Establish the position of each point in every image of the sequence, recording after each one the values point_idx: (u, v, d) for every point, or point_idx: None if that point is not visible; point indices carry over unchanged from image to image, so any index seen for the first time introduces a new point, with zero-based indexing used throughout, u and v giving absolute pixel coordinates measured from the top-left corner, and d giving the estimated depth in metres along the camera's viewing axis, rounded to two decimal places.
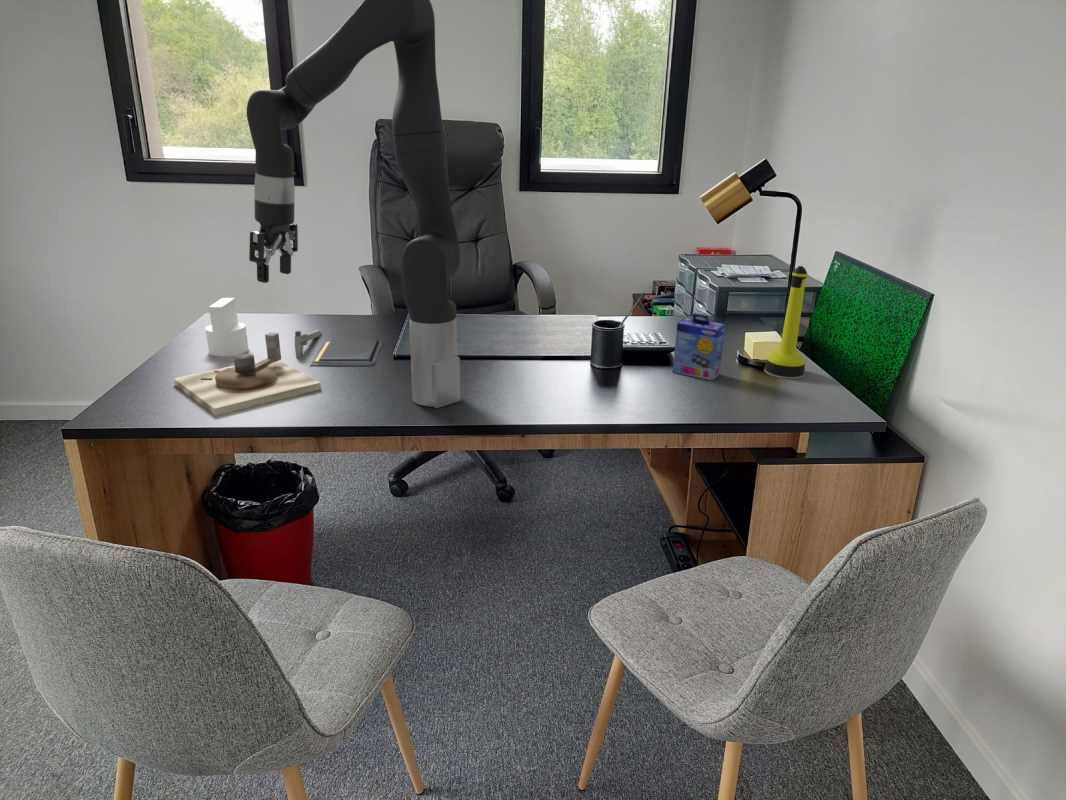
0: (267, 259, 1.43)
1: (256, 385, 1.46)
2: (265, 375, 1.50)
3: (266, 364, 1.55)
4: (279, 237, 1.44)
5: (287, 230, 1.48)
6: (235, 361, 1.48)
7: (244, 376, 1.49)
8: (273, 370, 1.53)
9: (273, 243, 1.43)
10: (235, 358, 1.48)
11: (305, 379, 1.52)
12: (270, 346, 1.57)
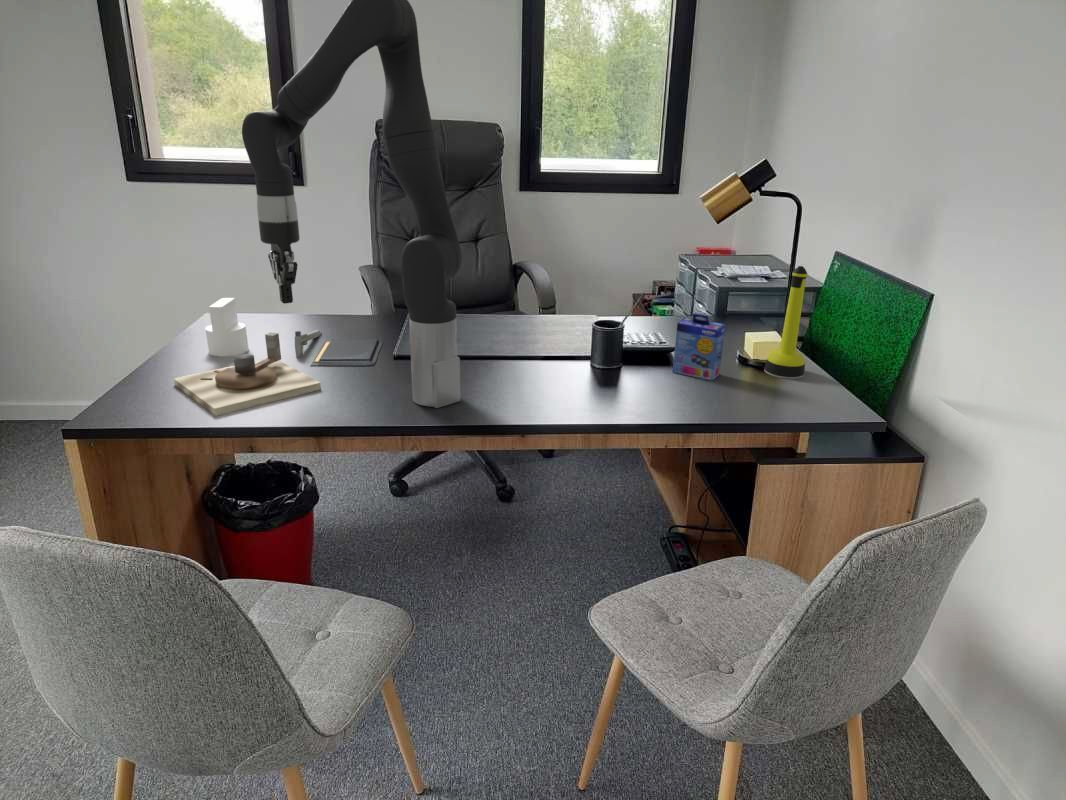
0: None
1: (256, 385, 1.46)
2: (265, 375, 1.50)
3: (266, 364, 1.55)
4: None
5: None
6: (235, 361, 1.48)
7: (244, 376, 1.49)
8: (273, 370, 1.53)
9: None
10: (235, 358, 1.48)
11: (305, 379, 1.52)
12: (270, 346, 1.57)
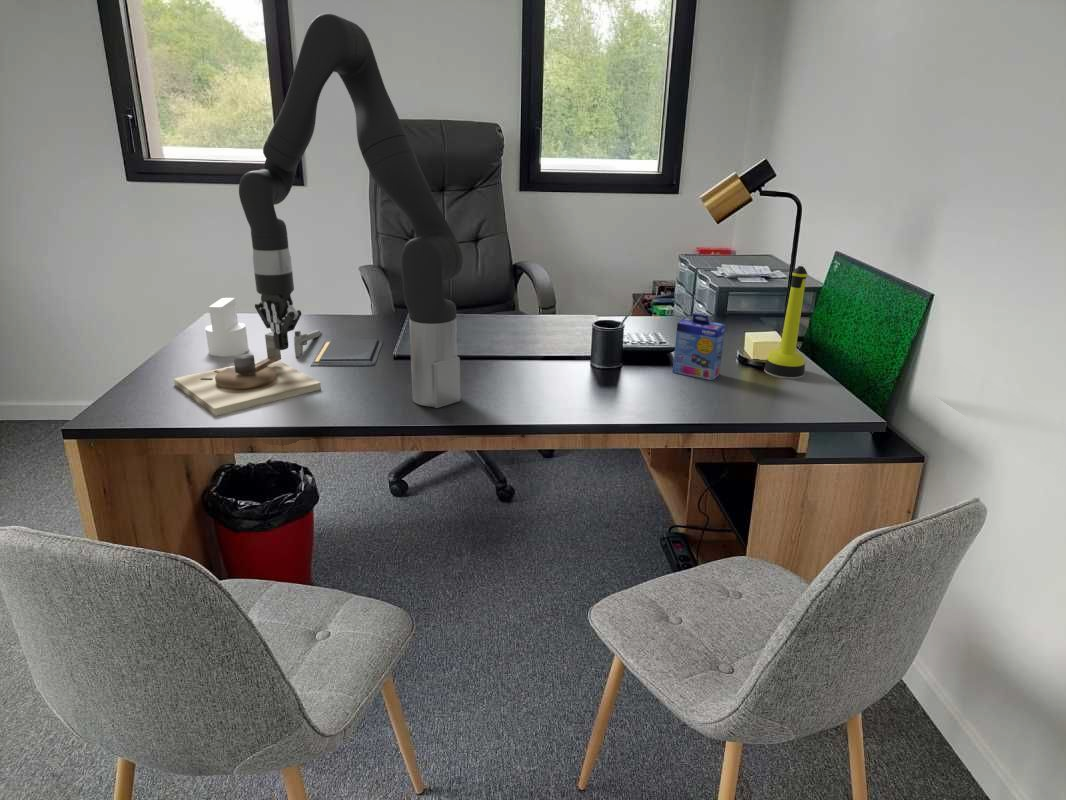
0: None
1: (256, 385, 1.46)
2: (265, 375, 1.50)
3: (266, 364, 1.55)
4: None
5: None
6: (235, 361, 1.48)
7: (244, 376, 1.49)
8: (273, 370, 1.53)
9: None
10: (235, 358, 1.48)
11: (305, 379, 1.52)
12: (270, 346, 1.57)
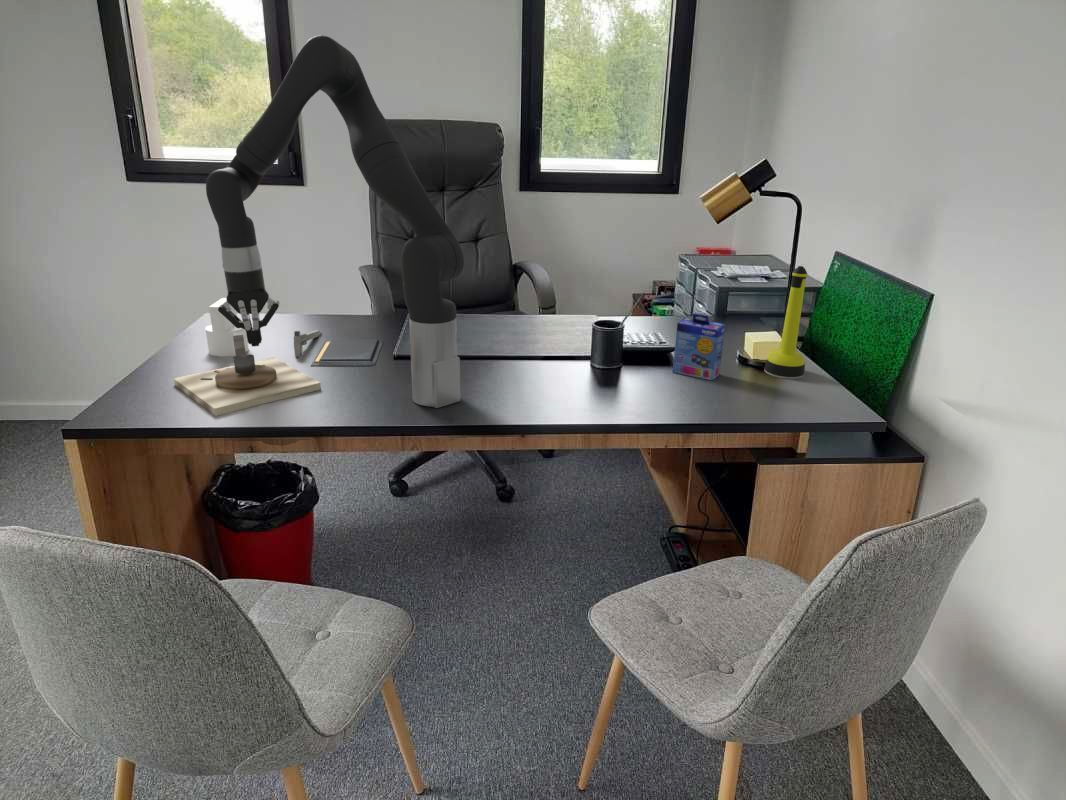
0: None
1: (273, 379, 1.50)
2: (267, 370, 1.53)
3: None
4: None
5: None
6: (241, 362, 1.47)
7: (248, 375, 1.50)
8: (263, 366, 1.55)
9: None
10: (239, 359, 1.48)
11: (305, 379, 1.52)
12: (240, 346, 1.57)
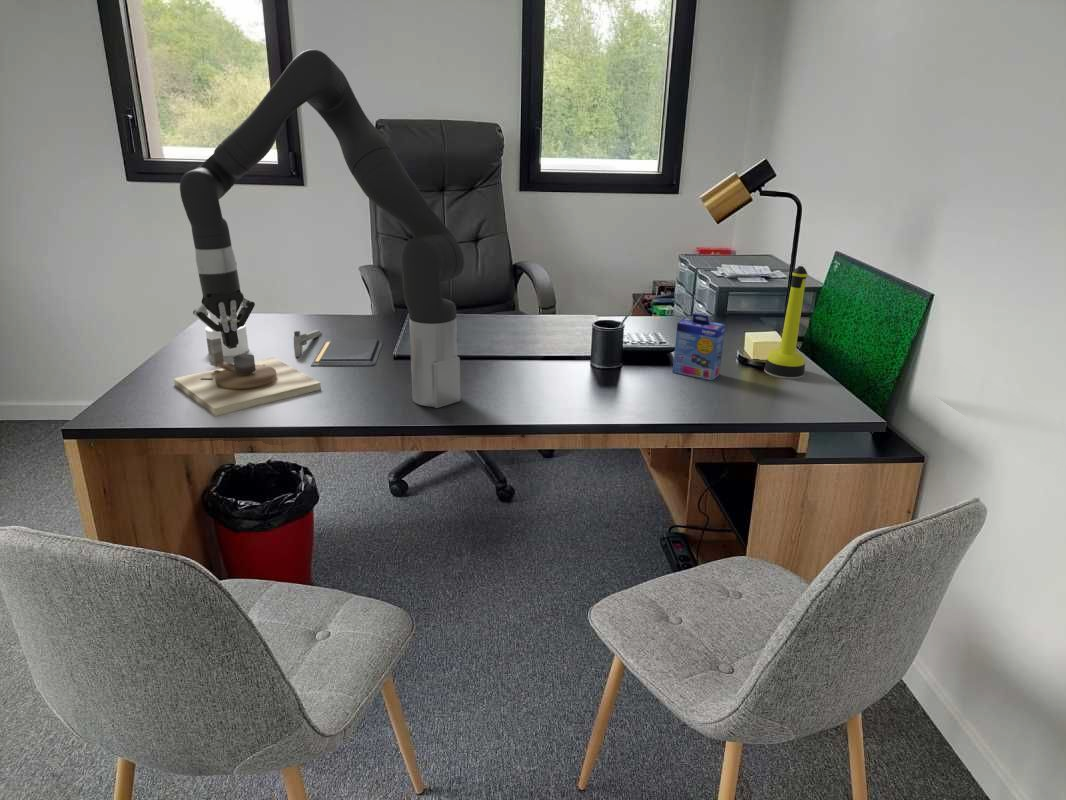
0: None
1: (276, 374, 1.53)
2: (262, 368, 1.54)
3: None
4: None
5: None
6: (246, 361, 1.48)
7: (250, 374, 1.50)
8: None
9: None
10: (243, 359, 1.48)
11: (305, 379, 1.52)
12: (218, 350, 1.54)
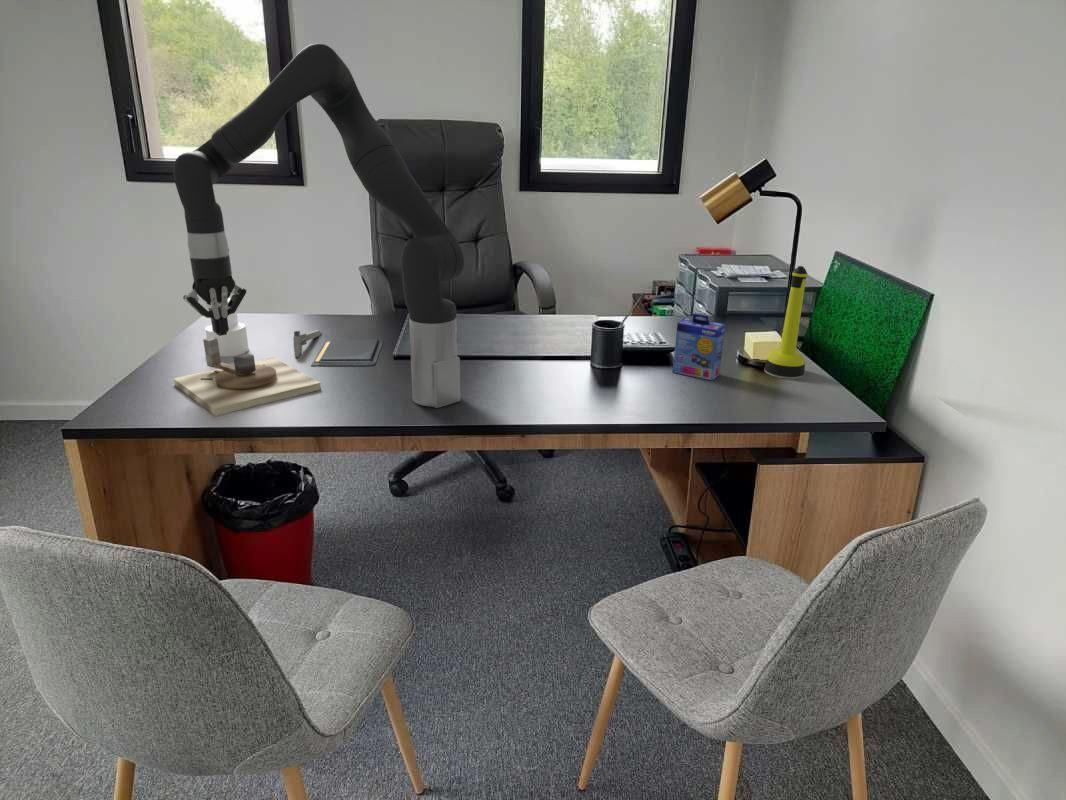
0: None
1: None
2: (261, 368, 1.54)
3: None
4: None
5: None
6: (247, 361, 1.48)
7: (251, 374, 1.50)
8: None
9: None
10: (244, 359, 1.48)
11: (305, 379, 1.52)
12: (215, 351, 1.53)
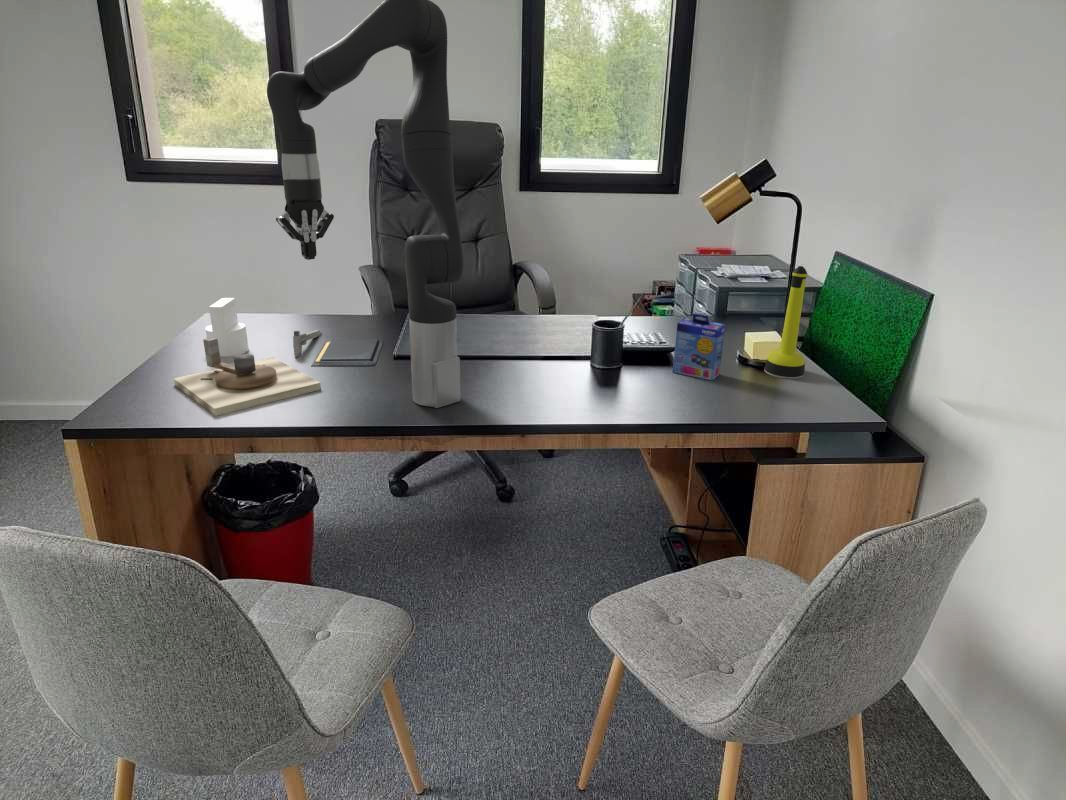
0: None
1: None
2: (261, 368, 1.54)
3: None
4: None
5: None
6: (247, 361, 1.48)
7: (251, 374, 1.50)
8: None
9: None
10: (244, 359, 1.48)
11: (305, 379, 1.52)
12: (215, 351, 1.53)
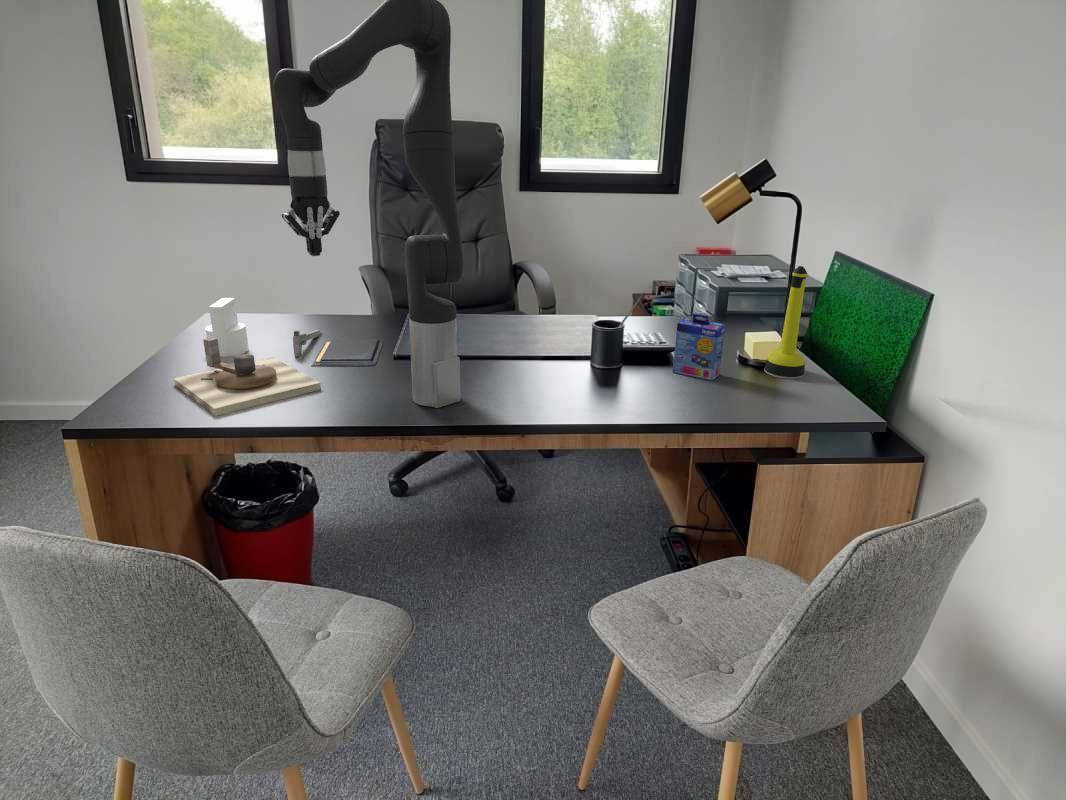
0: None
1: None
2: (261, 368, 1.54)
3: None
4: None
5: None
6: (247, 361, 1.48)
7: (251, 374, 1.50)
8: None
9: None
10: (244, 359, 1.48)
11: (305, 379, 1.52)
12: (215, 351, 1.53)
